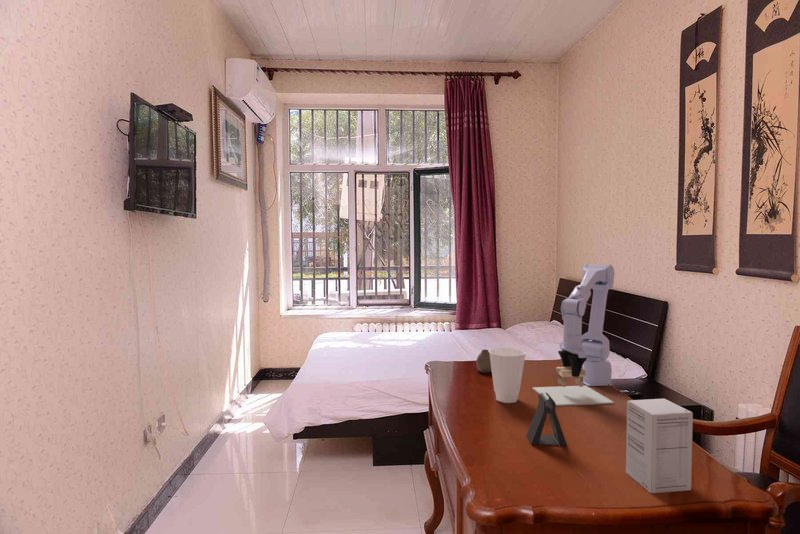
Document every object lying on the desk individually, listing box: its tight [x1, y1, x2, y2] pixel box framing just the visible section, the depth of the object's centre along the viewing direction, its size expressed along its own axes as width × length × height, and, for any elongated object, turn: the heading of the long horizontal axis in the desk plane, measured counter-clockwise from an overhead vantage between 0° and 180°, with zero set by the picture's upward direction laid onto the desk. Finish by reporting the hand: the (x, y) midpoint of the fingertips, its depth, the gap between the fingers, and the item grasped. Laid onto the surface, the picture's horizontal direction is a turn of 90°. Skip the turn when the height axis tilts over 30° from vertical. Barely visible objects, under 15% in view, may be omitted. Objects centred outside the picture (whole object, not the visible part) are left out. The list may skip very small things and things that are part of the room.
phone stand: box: [526, 392, 568, 447], centre depth 124 cm, size 9×6×12 cm, turn 86°
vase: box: [475, 349, 492, 374], centre depth 191 cm, size 7×7×9 cm
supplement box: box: [625, 398, 694, 494], centre depth 103 cm, size 10×9×17 cm
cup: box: [488, 347, 527, 404], centre depth 156 cm, size 12×12×16 cm
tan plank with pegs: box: [555, 366, 586, 387], centre depth 160 cm, size 5×8×6 cm, turn 94°
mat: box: [531, 384, 615, 407], centre depth 161 cm, size 20×18×1 cm
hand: (571, 374), depth 160 cm, fingers closed on tan plank with pegs, 5 cm apart
